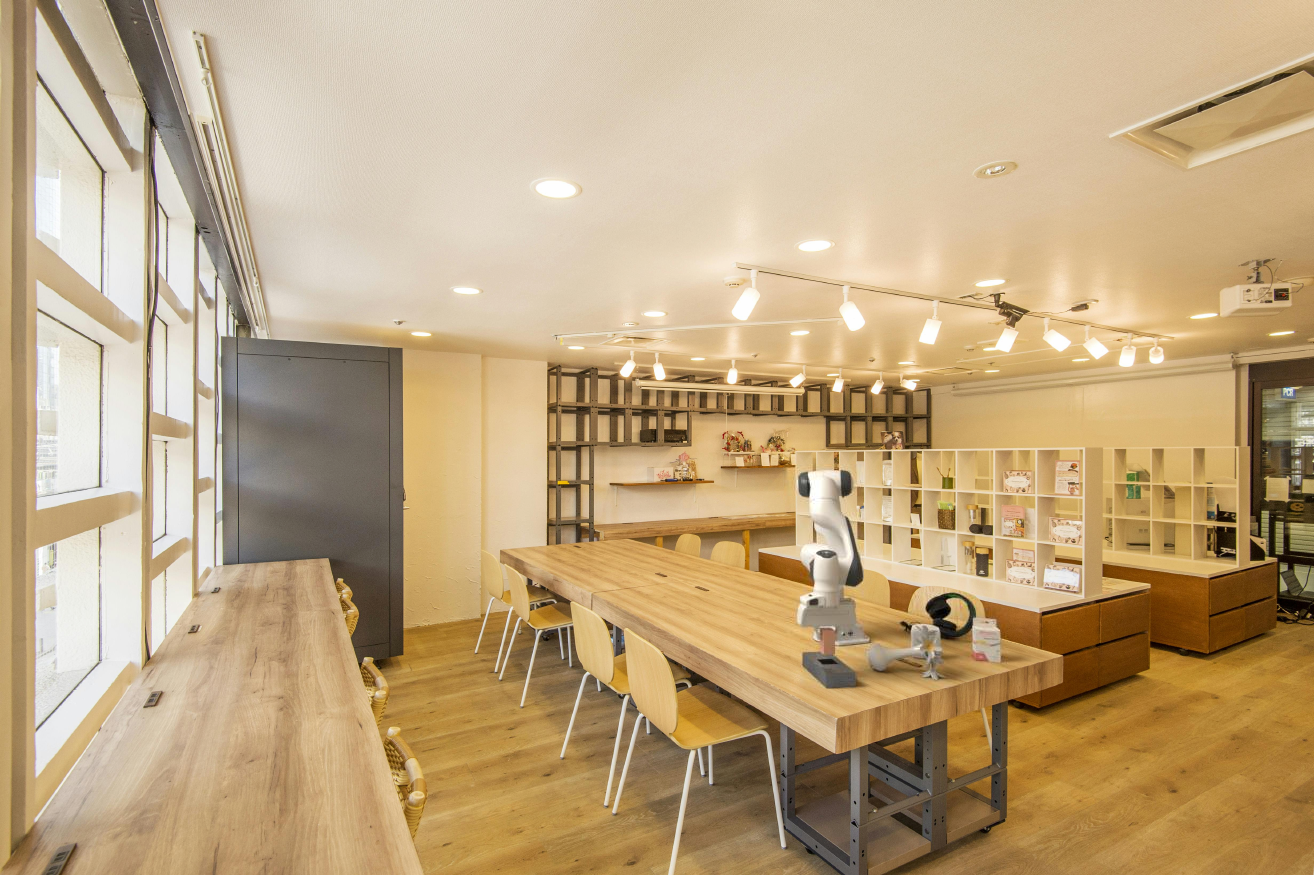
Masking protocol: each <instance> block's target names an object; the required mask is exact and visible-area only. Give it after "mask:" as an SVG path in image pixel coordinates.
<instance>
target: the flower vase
mask: <svg viewBox="0 0 1314 875" xmlns="http://www.w3.org/2000/svg"><path fill="white" fill-rule="evenodd" d="M916 627H917V628H918V629H919V630H920V631H921V632H922V633H923V636H922V638H921V637H916V641H917V642H919V643H921V644H920V645H917V646H914V647H911V646H910V647H904V648H888V647H885V646H883V645H882V644H880V643H875V642H873V643H872V644H871V645H870V646H869V647H868V649H867V648H866V649H865V655H866V659H867V662H868V666H869V667H870V668H873V669H874V670H876V671H878V672H883V671H885V670H886V669H887V667H888V666H889V665H890V664H891V663H893V662H894V661H897V660H901V659H905V658H910V657H911V658H913V657H912V656H923V657H926V656H927V657H928V658H927V659H926V658H925V660H924V663H925V666H926V668H927V669H928V668H929V667H931V669H928V670H926V671H924V672H923V671H922V675H921V677H922V678H928V677H931V679H933V680H935V681H937V680H939V678H944V679H945V678H946V676H945V675H943V674H941V673H939V672H938V671H937V670H936V669H937V664H938V665H945V660H944V659H943V658H942V656H943V655H944V653H943V647H942V646H941V645H940V646H941V647H940V646H938V645H934V644H935V643H936V642H937V641H938V640H939V639H938V638H937V636H932V635H937V634H935V633H936V632H938V631H936V630H930V631H929V632H928V628H927V627H926V626H925V625H922V629H921V628H920V627H918V626H916ZM930 635H931V638H930V639H929V636H930ZM927 651H928V652H927ZM936 651H937V652H936ZM939 656H941V658H939Z"/></svg>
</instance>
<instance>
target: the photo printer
mask: <svg viewBox="0 0 1314 875" xmlns="http://www.w3.org/2000/svg"><path fill="white" fill-rule="evenodd" d="M911 625H912V629H911V631H910V647H914V646H917V645H920V644H921V643H919V642H917V641H916V637H921V638H922V636H923V633H922V632H921V631H920V630H919V629H918V628H917V627H916V626H918V627H920V628H921V629H922V625H925V626H926V627H927V628H928V632H929V631H930V630H936V631H938V632H936V633H935V634H937V635H932V636H937V638H938V639H939V640H938V641H937V642H936V643H935V644H934V645H938V646H940V647H941V648H942V646H941V638H942V637H940V630H939V628H938V627H936V626H934V625H933V624H927V623H921V624H919V623H916V624H911ZM930 638H931V635H930V636H929V639H930ZM927 652H928V651H927ZM936 652H937V651H936ZM911 658H917V659H925V660H926V659H927V658H928V657H927V656H926V657H923V656H912V657H911ZM939 658H941V659H942V655H941V656H939Z"/></svg>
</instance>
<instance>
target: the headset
mask: <svg viewBox="0 0 1314 875" xmlns="http://www.w3.org/2000/svg"><path fill="white" fill-rule="evenodd" d="M951 599H960V600H962V601H963V602H964V603H966V607H967V609H968V613H969V614H968V619H967V621H966V623H965V624H964V625H963V626H962V627H961V628H960V629H958V630H957V628H958V626H957V623H955V622H952V621H950V620H946V619H945V618H947V617H948V616H949V615H950V614H951V612H952V608H951V605H950V604H949V603H948V602H947V601H948V600H951ZM924 609H925V611H926V613H927V614H928V615H929V617H930V619H932V625H933V626H936V627H938V628H939V630H940V638H942V639H950V638H953V639H957V638H961V637H963V636H965V635H967V634H968V633H970V632H971V631H972V626H973V618H977V611H976V607H975V606H974V603H973V602H972V601H971V600H970V599H969V598H967V597H966V596H964V595H963V594H961V593H958V592H945V593H942V594H940V595H936V596H934V597H932V598H931V599H930V600H928V602H927V603H925V608H924ZM899 623H900V625H901V626H902V627H904V630H903V631H905V633H907V634H910V632H911V629H912V625H913V623H916V624H922V623H920V622H918V621H912V622H910V623H909V624H908V622H907V621H904V620H902V621H900V622H899Z"/></svg>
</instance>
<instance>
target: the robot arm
mask: <svg viewBox="0 0 1314 875" xmlns="http://www.w3.org/2000/svg"><path fill="white" fill-rule="evenodd" d="M850 472H851V471H849V470H843V469H841V470H836V469H823V470H813V471H804V472H801V473H800V474H799V475H798V476H797V479H796V489H797V492H798V494H799V495H800V496H801V497H803V498H808V499H809V500H808V504H809V505H808V507H809V508H808V509H809V515H810V516H809V517H810V518H811V520H812V521H813V522H814V523H813V528H814V531H815V532H816V533H817V534H818V535H819V536H821V537H822V538H823V539H824V541H825V542H826V543H821V542H811V543H805V544H804V545H803V546H802V547H801V550H800V553H799V557H800V561H801V563H802V565H803V566H804V567H805V568H806V569H807V570H808V571H809V579H810V580H811V581H812V582H814V585H813V589H812V590H813V591H811V592H809V593H806V594H803V595H800V597H799V602H800V603H799V605H798V607H797V615H796V622H797V624H798V625H799V626H800V627H802V628H813V636H812V639H813V640H814V641H817V642H819V640H822V634H821V633H819V628H828V627H830V628H832V629H833V630H835V646H840V647H841V646H849V645H850V646H851V645H857V644H866V643H870V642H871V640H870V637H869V636H867V634H865V633H864V628H863V626H862V624H861V623H860V622H859V621H858V620H857V613H856V612H857V611H856V609H857V605H856V604H857V603H856V601H855V599H852V597H845V588H844V586H845V587H852V588H856V587H857V586H858V585H860V584H861V583H862V582H863V581H864V576H865V573H864V566H863V564H862V558H861V555H860V553H859V551H858V548H857V544H856V543H857V542H856V539H855V538H856V537H855V534H854V531H853V528H852V524H851V521H850V519H849V517H848V516H846V515H845V514H843V512H842V507H841V499H840V497H841V498H842V499H844V498H845V497H848V496H850V495H851V493H852V492H853V489H854V487H855V482H854V477H853V476H852V474H851V473H850Z"/></svg>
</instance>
